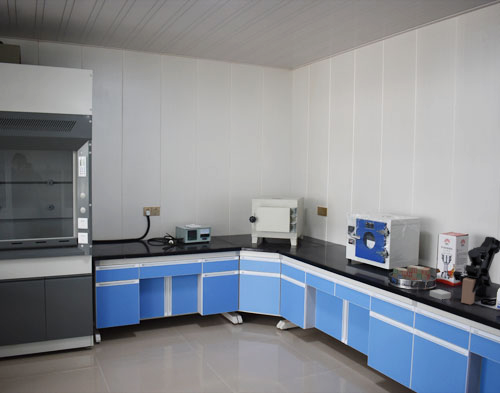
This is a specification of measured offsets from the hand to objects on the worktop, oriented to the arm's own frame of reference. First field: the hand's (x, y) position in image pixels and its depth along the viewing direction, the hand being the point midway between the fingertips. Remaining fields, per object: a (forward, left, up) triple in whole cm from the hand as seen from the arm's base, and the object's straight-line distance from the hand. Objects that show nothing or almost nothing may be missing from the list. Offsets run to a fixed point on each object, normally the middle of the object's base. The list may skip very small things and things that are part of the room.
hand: (467, 291), depth 245 cm
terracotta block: (-1, -1, -7) cm, 7 cm away
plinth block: (+3, -15, -7) cm, 17 cm away
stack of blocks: (-1, -41, -8) cm, 42 cm away
